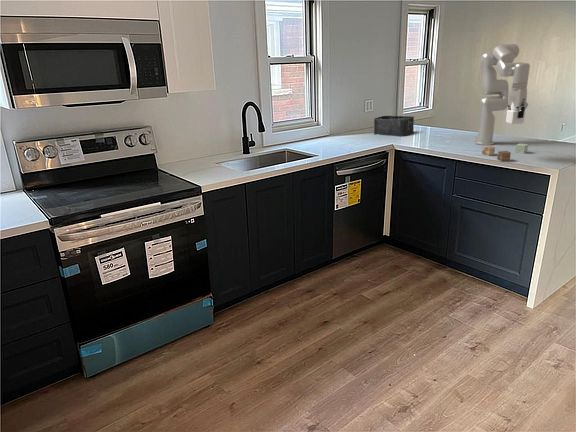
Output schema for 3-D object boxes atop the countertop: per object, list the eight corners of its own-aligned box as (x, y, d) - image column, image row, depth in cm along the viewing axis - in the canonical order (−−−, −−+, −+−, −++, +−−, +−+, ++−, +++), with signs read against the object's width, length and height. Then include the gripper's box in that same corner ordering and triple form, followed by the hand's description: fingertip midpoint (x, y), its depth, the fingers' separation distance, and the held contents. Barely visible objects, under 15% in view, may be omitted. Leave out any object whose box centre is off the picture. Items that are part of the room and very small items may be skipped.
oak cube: (481, 154, 264) (482, 146, 263) (487, 153, 266) (488, 145, 265) (488, 155, 260) (489, 147, 258) (494, 154, 262) (495, 146, 260)
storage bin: (372, 134, 351) (372, 118, 346) (383, 130, 365) (384, 115, 360) (404, 136, 333) (404, 119, 329) (414, 133, 347) (415, 116, 342)
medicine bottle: (517, 121, 252) (520, 101, 247) (523, 123, 245) (526, 102, 241) (505, 122, 252) (508, 101, 247) (511, 124, 245) (514, 103, 241)
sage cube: (515, 152, 264) (516, 144, 262) (518, 151, 267) (519, 143, 265) (523, 153, 260) (524, 145, 259) (527, 152, 263) (528, 144, 262)
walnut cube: (497, 159, 251) (498, 151, 249) (505, 159, 251) (506, 150, 249) (501, 161, 246) (502, 153, 244) (509, 160, 246) (510, 152, 244)
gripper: (503, 85, 248) (500, 115, 255) (524, 87, 232) (519, 119, 238) (515, 84, 249) (511, 114, 256) (536, 86, 233) (531, 118, 240)
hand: (515, 116), depth 247 cm, fingers closed on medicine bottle, 7 cm apart
